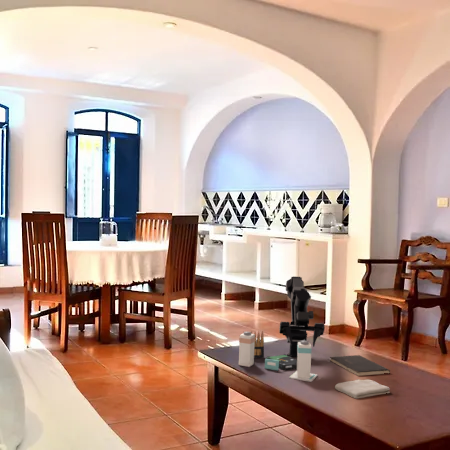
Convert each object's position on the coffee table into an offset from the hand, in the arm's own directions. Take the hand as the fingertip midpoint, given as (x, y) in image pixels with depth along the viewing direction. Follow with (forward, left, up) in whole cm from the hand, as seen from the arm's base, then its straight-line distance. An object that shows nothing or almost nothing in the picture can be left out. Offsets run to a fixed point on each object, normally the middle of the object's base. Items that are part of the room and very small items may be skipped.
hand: (302, 345), depth 235 cm
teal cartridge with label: (+3, -12, -11) cm, 17 cm away
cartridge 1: (+2, -24, -11) cm, 27 cm away
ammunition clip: (-10, -26, -11) cm, 30 cm away
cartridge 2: (+7, +3, -10) cm, 12 cm away
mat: (+7, +3, -11) cm, 13 cm away
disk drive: (-7, -10, -12) cm, 17 cm away
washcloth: (+12, +28, -12) cm, 32 cm away
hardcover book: (-21, +20, -12) cm, 31 cm away
